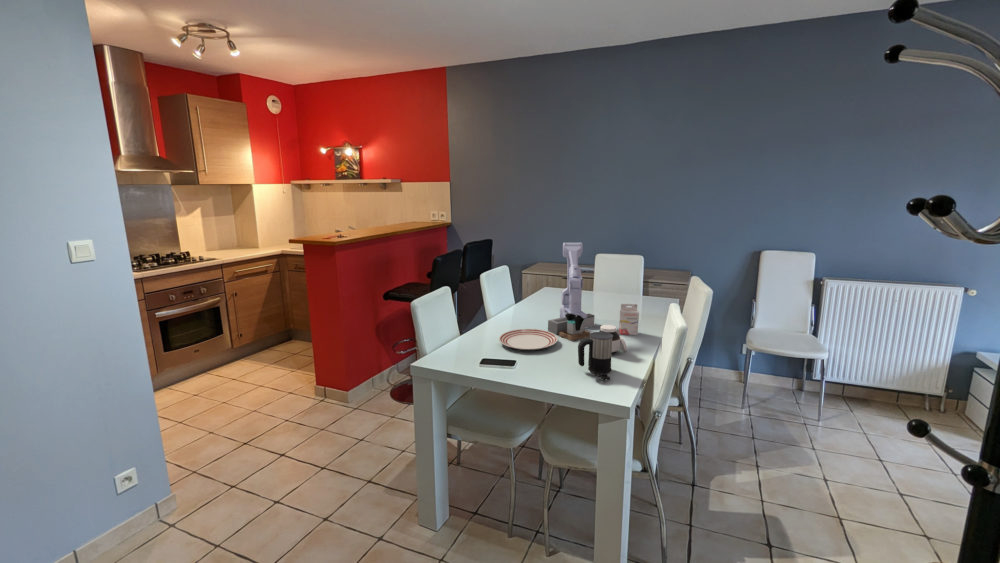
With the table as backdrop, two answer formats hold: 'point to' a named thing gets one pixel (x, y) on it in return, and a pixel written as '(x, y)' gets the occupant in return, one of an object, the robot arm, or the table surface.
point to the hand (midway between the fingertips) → (574, 329)
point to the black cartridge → (589, 321)
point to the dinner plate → (528, 339)
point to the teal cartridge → (573, 327)
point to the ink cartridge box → (629, 319)
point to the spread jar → (614, 338)
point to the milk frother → (597, 354)
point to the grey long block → (557, 325)
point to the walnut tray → (575, 336)
